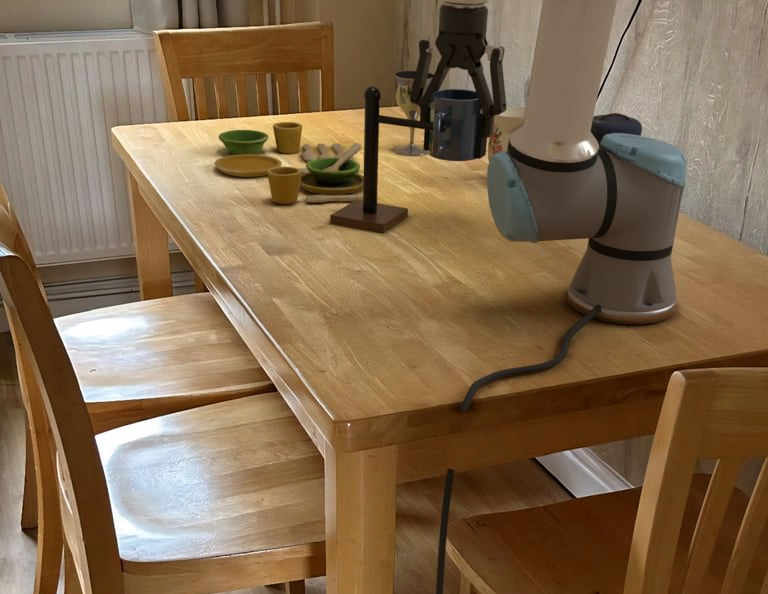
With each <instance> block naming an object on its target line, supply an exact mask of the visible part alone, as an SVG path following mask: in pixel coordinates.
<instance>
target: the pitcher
mask: <svg viewBox="0 0 768 594" xmlns="http://www.w3.org/2000/svg"><path fill="white" fill-rule="evenodd" d="M506 107H507V109H506V111H505V112H503V113H501V114H500V115H495V117H494V126H493V134H492V136H490V137H489V139H488V142H487V143H488V144H487V145H488V146H487V158H488V162H489V161H490V159H491V157H492V156H493V154H495V153H498V152H499V151H504V152H506V151H507V148H508V142H509V136H510V133H511V131H512V130H513V129H515V128H516V127H517V126H519V125H520V124H521V123H523V122H524V116H525V110H526V106H506Z"/></svg>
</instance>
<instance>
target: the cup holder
mask: <svg viewBox="0 0 768 594" xmlns="http://www.w3.org/2000/svg"><path fill="white" fill-rule="evenodd" d="M363 99H364V125H363V127H364V129H363V130H364V131H363V133H364V134H363V175H362V176H363V186H362V195H363V201H362V200H355V201H351V202H350V203H348V204H346V205H345V206H342V207H341V208H339V209H338V210H336V211H335V212H333V213H331V214H330V224H331V225H337V226H342V227H349V228H354V229H357V230H364V231H370V232H375V233H381V234H385V233H386V232H387V231H389V230H391V229H392V228H394V227H395V226H396V225H398V224H399V223H401V222H403V221H404V220H406V219H407V218H408V217H409V208H408V207H403V206H396V205H391V204H385V203H379V202H378V186H379V185H378V183H379V181H378V180H379V145H380V124H384V125H391V126H398V127H405V128H410V127H411V128H415V129H419V130H424V129H425V130H432V131H433V125H434V123H432V122H425V121H420V120H419V119H418V120H411V119H408V118H403V117H397V116H389V115H382V114H380V111H381V109H380V108H381V106H380V105H381V99H382V92H381V90H380V89H379V88H378V86H377V87H376V86H375V85H374V86H373V85H371V86H368V87H367V88H366V89H365V90H364V92H363ZM445 131H446V125H445V124H441V125H440V132H445Z"/></svg>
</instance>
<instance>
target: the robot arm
mask: <svg viewBox="0 0 768 594" xmlns="http://www.w3.org/2000/svg"><path fill="white" fill-rule="evenodd" d="M440 1H441V2H442V4H441V5H440V6H439V13H438V15H439V16H438V34H437V36H436V38H430V37H427V38H423V39H420V41H418V50H419V51H418V52H419V57H418V61H417V65H416V70H415V71H416V74H415V78H414V82H413V87H412V91H411V95H410V101H411V103H415V104H417V105H419V107H420V117H419V121H425V122H430V113H431V94H432V93H434V92H436V91H438V90H441V89H440V88H441V86H442V85H443V83H444V81H445V78H446V77H447V75H448V73H449V71H450V69H456V68H458V69H460V70H463V71H467V73H468V76H469V77H470V78H471V81H472V84H473V87H474V91H476V93H477V96H478V99H480V105H481V108H482V111H483V114H484V115H482V116H480V117H479V120H478V133H477V146H476V158H477V159H476V160H481V159H482V158H484V157H486V155H487V147H488V146H487V145H488V144H487V143H488V138H490V136H492V134H493V127H494V117H495V115H500V114H501V113H503V112H505V111H506V109H507V107H508V106H507V98H506V88H505V87H506V86H505V78H504V68H503V61H504V56H505V51H506V50H505V47H504V46H502V45H499V46H494V45H490V44H489V43H488V40H487V31H488V30H487V29H488V18H489V17H488V15H489V9H488V6H486V4H488V3H489V0H440ZM617 3H618V0H542V3H541V11H540V17H539V22H538V28H537V35H536V42H535V49H534V54H533V59H532V60H533V62H532V66H531V73H530V78H529V85H528V90H527V91H528V92H527V97H526V98H527V99H526V104H525V107H526V110H525V116H524V122H523V123H521V124H520V125H519V126H517V127H516V128H515V129H513V130H512V131H511V133H510V136H509V142H508V148H507V151H506V152H504V151H499V152H498V153H495V154H493V156H492V157H491V159H490V161H489V160H488V163H487V164H488V165H487V171H486V187H487V198H488V203H489V209H490V213H491V216H492V219H493V222H494V225H495V227H496V229H497V231H498V232H499V234H500V235H501V236H502V237H503V238H504V239H505V240H506V241H508V242H513V243H532V244H537V243H538V242H552V241H568V240H570V241H571V240H586V239H588V240H587V247H586V250H585V252H584V254H583V256H582V258H581V261H580V262H579V264H578V266H577V268H576V271H575V272H574V275H573V277H572V279H571V281H570V283H569V286H568V293H567V303H568V304H569V305H570V306H571V308H573V309H574V310H575V311H576V312H578V313H580V314H582V315H584V316H583V317H582V318H580V320H578V321H577V322H576V323H574V324H573V326H571V327H570V328H569V329H568V331H567V332H566V333H565V335H563V336H564V337H563V338H562V340H561V345H560V348H559V352H558V353H557V354H556V355H555V357H553V358H551V359H550V360H547V361H545V362H541V363H537V364H532V365H524V366H518V367H512V368H511V367H510V368H506V369H502V370H497V371H495V372H492V373H490V374H488V375H485V376H482V377H480V378H478V379H477V380H475V381H474V382H473V383H472V384H471V385H470V387H469V388H468V391H467V392H466V394H465V396H464V398H463V401H462V403H461V405H460V408H459V411H460V412H462V413H465V412H468V411H469V408H470V406H471V404H472V401H473V399H474V397H475V395H476V394H477V391H478V390H479V389H480V388H482V387H484V386H486V385H487V384H490V383H491V382H494V381H496V380H499V379H504V378H507V377H508V378H509V377H512V376H513V377H514V376H519V375H525V374H533V373H538V372H542V371H545V370H548V369H551V368H553V367H555V366H557V365H559V364H560V363H561V362H562V361H563V360H564V359H565V357H566V356H567V353H568V351H569V344H570V341H571V340H572V338H573V336H574V335H576V333H577V332H578V331H580V330H581V329H582V328H583V327H584V326H585V325H586V324H588V323H589V322H590V321H591V320H592V319H595V320H598V321H602V322H607V323H613V324H621V325H648V324H649V325H650V324H654V323H659V322H663V321H665V320H667V319H669V318H671V317H672V315H673V314H674V313H675V310H676V305H677V298H678V297H677V289H676V283H675V275H674V269H673V263H672V253H673V248H674V243H675V237H676V232H677V227H678V226H677V225H678V221H679V215H680V210H681V206H682V200H683V194H684V188H686V185H687V183H686V182H687V181H686V180H687V170H688V169H687V168H688V159H687V155H686V154H685V152H684V151H683V150H682V149H680V148H679V147H677V146H675V145H673V144H671V143H669V142H666V141H663V140H659V139H656V138H653V137H649V136H644V135H641V136H639V135H633V134H625V133H610V134H606V135H605V136H604V137H603V139H602V141H601V142H600V146H601V148H599V144H598V142H597V140H596V139H595V137H594V136H593V135H592V133H591V126H592V121H593V116H595V111H596V106H597V101H598V96H599V91H600V86H601V81H602V76H603V71H604V68H605V67H604V66H605V62H606V61H605V60H606V58H607V57H606V56H607V53H608V47H609V42H610V37H611V32H612V28H613V23H614V17H615V13H616V8H617ZM436 49H437V51H438V53H439V55H440V57H441V58H440V60H439V62H438V64H437V66H436V70H435V72H434V73H433V75H434V76H433V78H432V80H431V82H430V84H429V86H428V88H427V90H426V92H425V94H424V96H423V92H424V88H425V84H426V80H427V76H428V73H429V71H430V67H431V63H432V59H433V54H434V53H435V51H436ZM485 54H486V55H487V60H488V61H489V73H490V83H491V90H492V91H491V90H490V89H489V86H488V83H487V80H486V77H485V73H484V66H483V63H482V60H481V59H482V57H483V56H484V55H485ZM490 91H491V92H492V93H491V92H490ZM423 131H424V132H423V148H424V149H423V150H426V151H429V132H430V130H425V129H423ZM454 477H455V469H451V468H447V469H446V477H445V482H444V489H443V490H444V491H443V497H442V506H441V514H440V515H441V516H440V525H439V536H438V537H439V540H438V551H437V569H436V583H435V584H436V585H435V587H436V588H435V594H444V580H445V564H446V551H447V549H446V548H447V539H448V528H449V527H448V525H449V517H450V508H451V507H450V505H451V498H452V492H453V491H452V490H453V484H454Z"/></svg>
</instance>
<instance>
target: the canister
mask: <svg viewBox="0 0 768 594" xmlns="http://www.w3.org/2000/svg"><path fill="white" fill-rule="evenodd" d="M591 133H592V135H593V136H594V137H595V139H596V140H597V142H598V144H599V148H601V146H600V142H601V141H602V139H603V137H604V136H605V135H606V134H610V133H625V134H633V135H639V136H642V133H643V125H642V123H641V122H640V120H638V119H636V118H634V117H630V116H629V115H626V114H624V113H619V112H611V113H607V114H598V115H594V116H593V121H592V126H591Z"/></svg>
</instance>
